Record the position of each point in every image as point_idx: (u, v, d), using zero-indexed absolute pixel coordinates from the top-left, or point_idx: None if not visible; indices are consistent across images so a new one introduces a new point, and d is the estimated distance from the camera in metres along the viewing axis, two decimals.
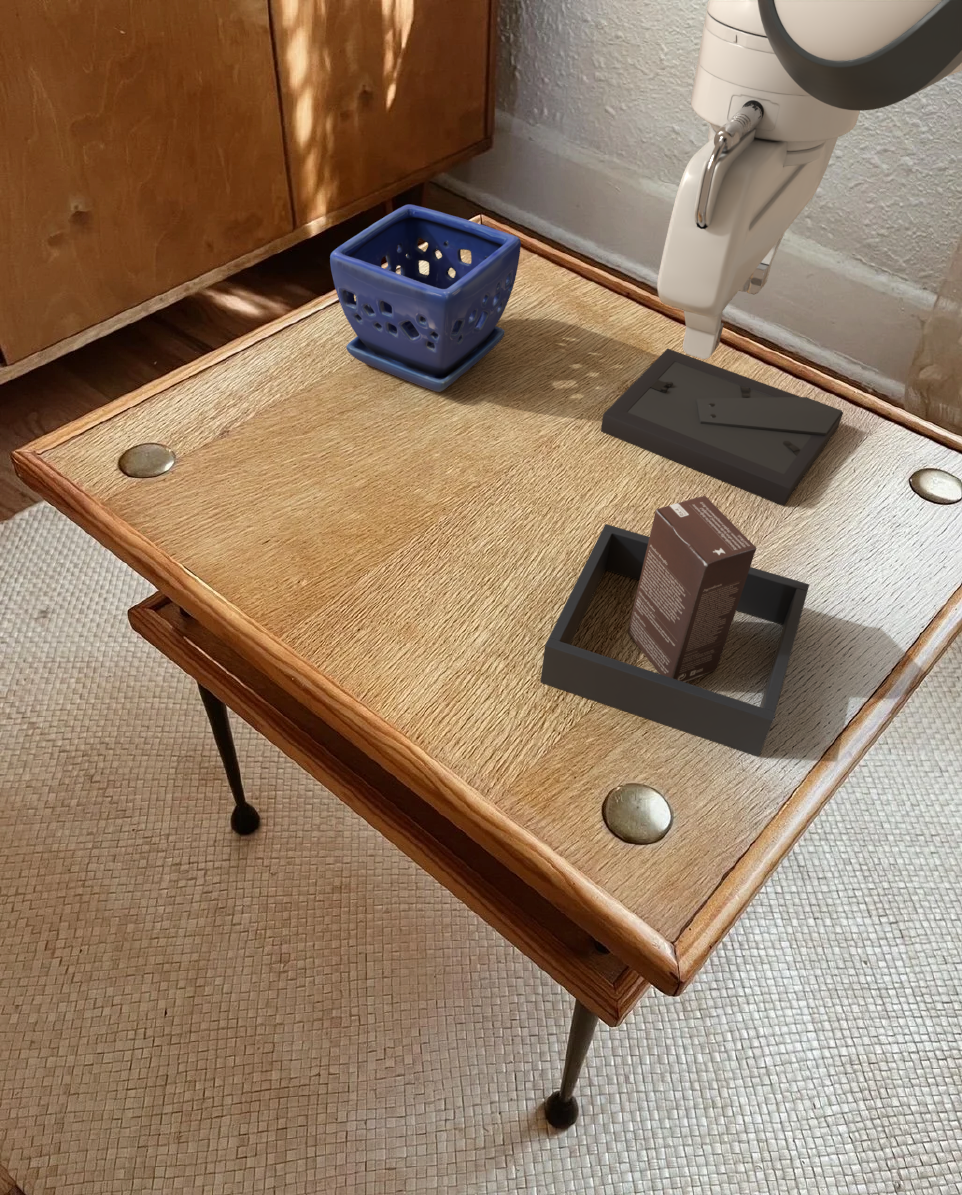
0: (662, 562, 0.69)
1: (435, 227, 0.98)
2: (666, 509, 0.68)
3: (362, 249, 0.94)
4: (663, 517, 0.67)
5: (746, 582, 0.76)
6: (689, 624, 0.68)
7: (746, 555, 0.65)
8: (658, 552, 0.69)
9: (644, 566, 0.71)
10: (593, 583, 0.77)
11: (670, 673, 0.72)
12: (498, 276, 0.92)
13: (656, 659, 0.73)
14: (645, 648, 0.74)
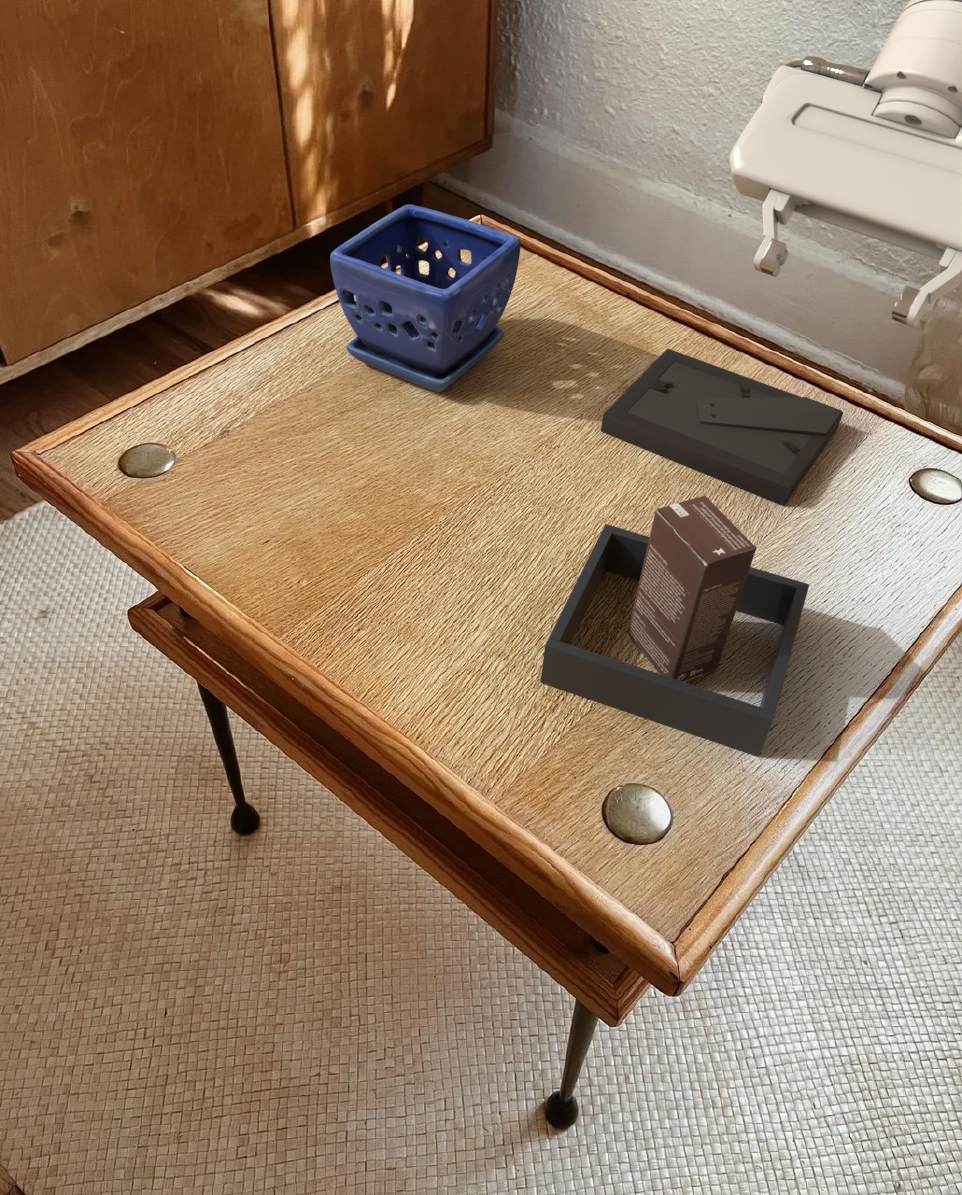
0: (662, 562, 0.69)
1: (435, 227, 0.98)
2: (666, 509, 0.68)
3: (362, 249, 0.94)
4: (663, 517, 0.67)
5: (746, 582, 0.76)
6: (689, 624, 0.68)
7: (746, 555, 0.65)
8: (659, 552, 0.69)
9: (644, 566, 0.71)
10: (593, 583, 0.77)
11: (670, 673, 0.72)
12: (498, 276, 0.92)
13: (656, 659, 0.73)
14: (645, 648, 0.74)
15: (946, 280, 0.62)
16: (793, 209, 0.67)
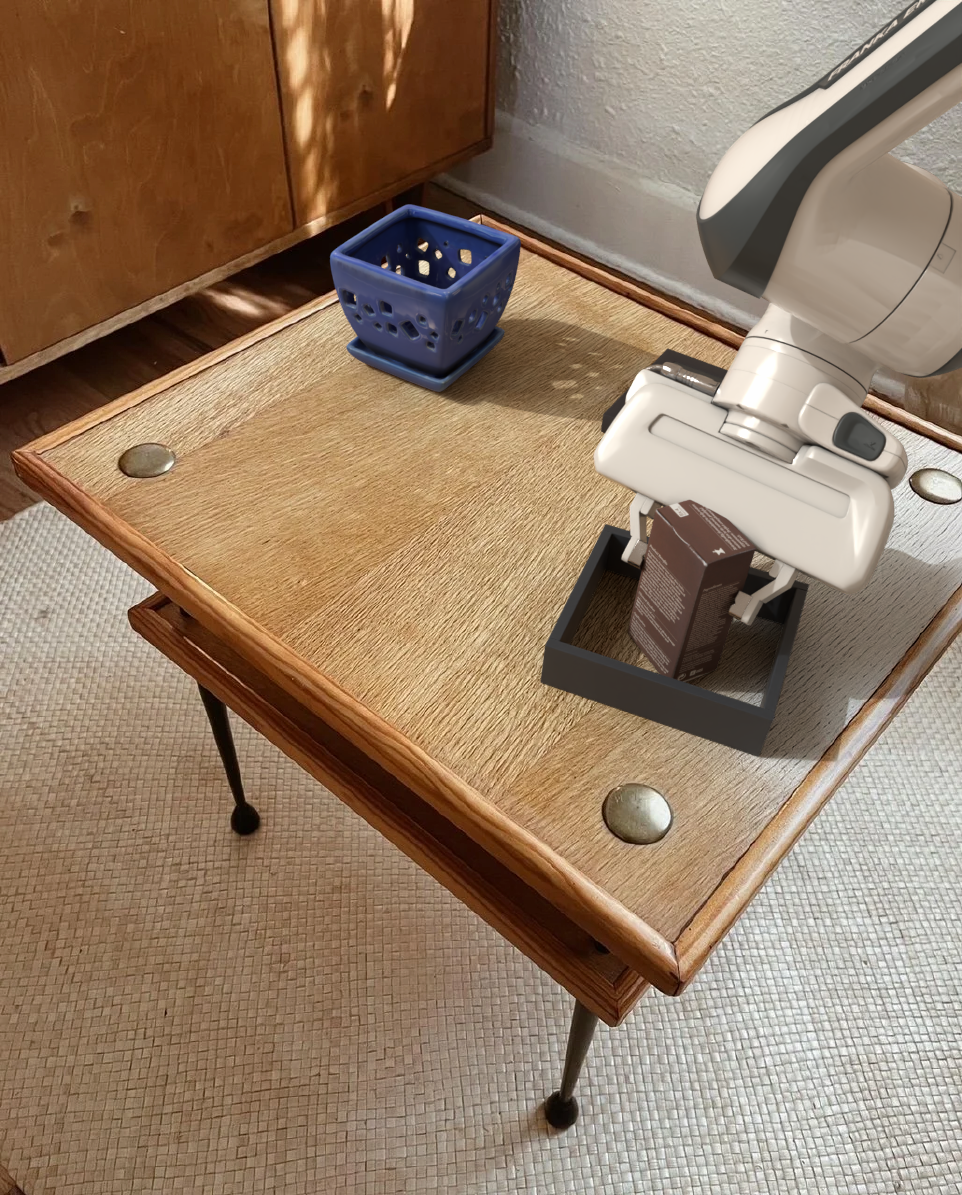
0: (662, 562, 0.69)
1: (435, 227, 0.98)
2: (666, 509, 0.68)
3: (362, 249, 0.94)
4: (663, 517, 0.67)
5: (746, 582, 0.76)
6: (689, 624, 0.68)
7: (746, 555, 0.65)
8: (658, 552, 0.69)
9: (644, 566, 0.71)
10: (593, 583, 0.77)
11: (670, 673, 0.72)
12: (498, 276, 0.92)
13: (656, 659, 0.73)
14: (645, 648, 0.74)
15: (774, 590, 0.66)
16: (660, 506, 0.72)
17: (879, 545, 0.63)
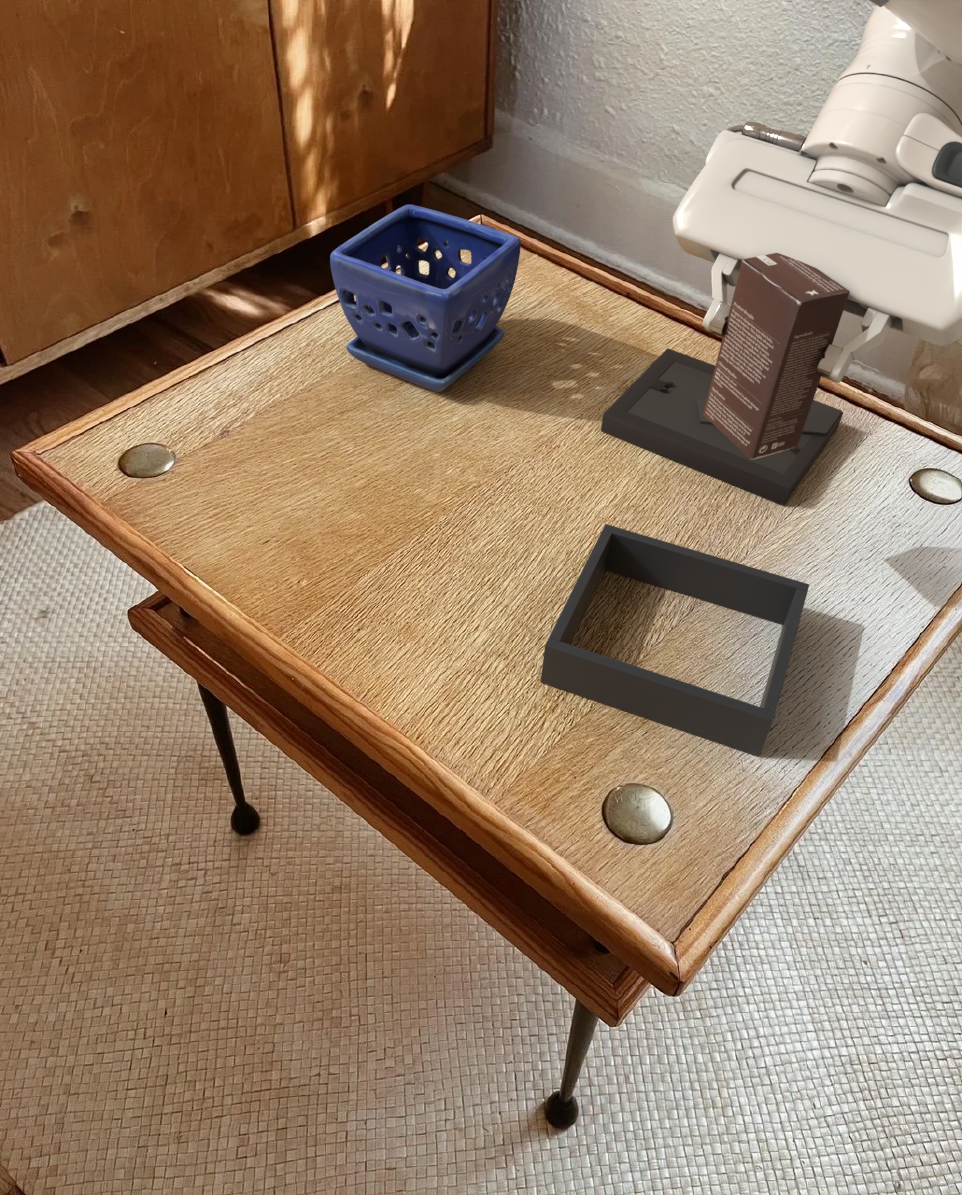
0: (747, 318, 0.66)
1: (435, 227, 0.98)
2: (753, 259, 0.65)
3: (362, 249, 0.94)
4: (750, 266, 0.65)
5: (746, 582, 0.76)
6: (776, 380, 0.65)
7: (839, 299, 0.63)
8: (744, 307, 0.66)
9: (726, 330, 0.68)
10: (593, 583, 0.77)
11: (752, 444, 0.69)
12: (498, 276, 0.92)
13: (736, 432, 0.70)
14: (724, 425, 0.71)
15: (867, 339, 0.64)
16: None
17: None
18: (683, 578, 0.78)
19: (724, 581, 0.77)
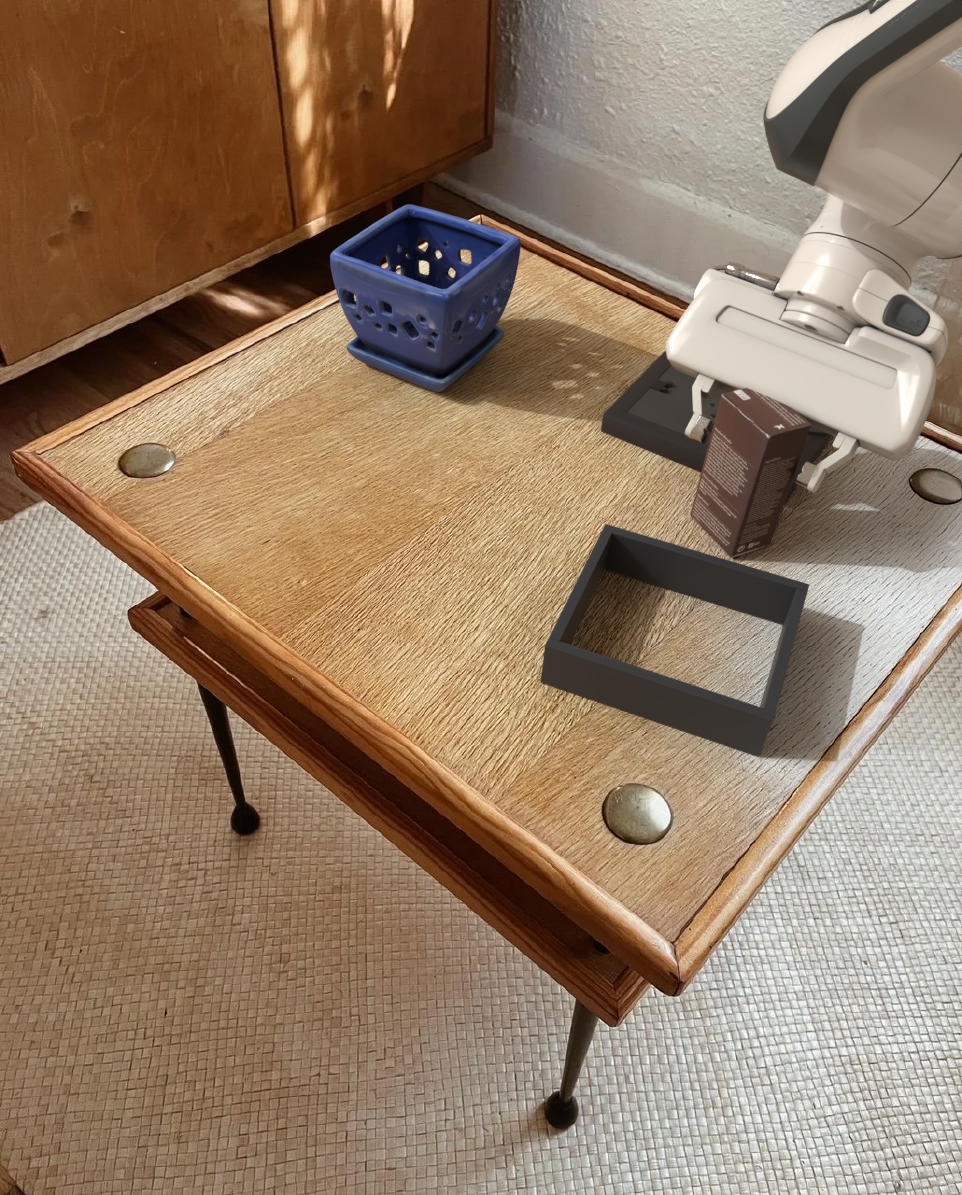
0: (726, 442, 0.78)
1: (435, 227, 0.98)
2: (730, 394, 0.77)
3: (362, 249, 0.94)
4: (728, 400, 0.77)
5: (746, 582, 0.76)
6: (751, 495, 0.77)
7: (803, 431, 0.75)
8: (723, 433, 0.78)
9: (708, 449, 0.80)
10: (593, 583, 0.77)
11: (731, 544, 0.81)
12: (498, 276, 0.92)
13: (718, 533, 0.82)
14: (708, 526, 0.83)
15: (838, 459, 0.75)
16: (718, 387, 0.81)
17: (923, 411, 0.73)
18: (683, 578, 0.78)
19: (724, 581, 0.77)
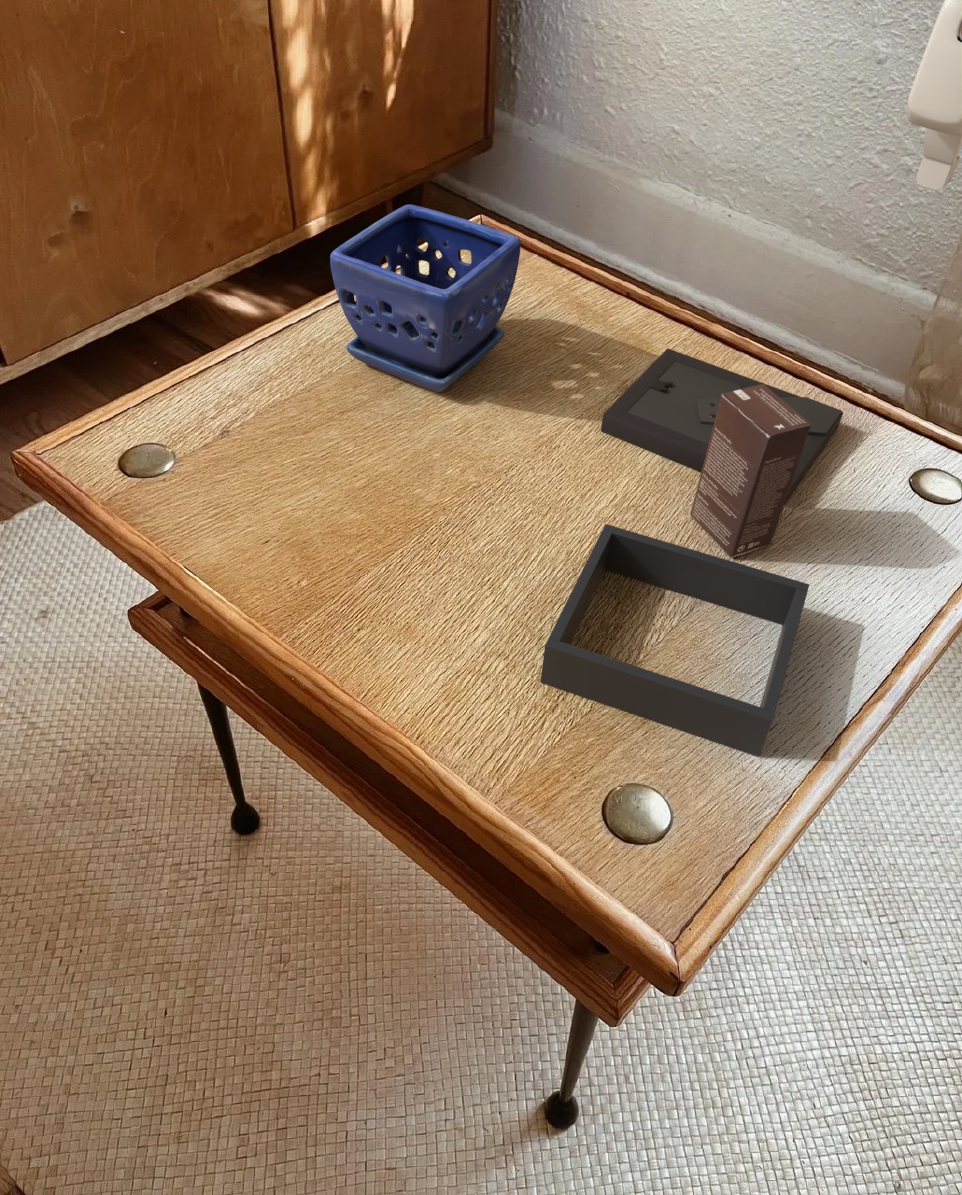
0: (726, 442, 0.78)
1: (435, 227, 0.98)
2: (730, 394, 0.77)
3: (362, 249, 0.94)
4: (728, 400, 0.77)
5: (746, 582, 0.76)
6: (751, 495, 0.77)
7: (803, 431, 0.75)
8: (723, 433, 0.78)
9: (708, 449, 0.80)
10: (593, 583, 0.77)
11: (731, 544, 0.81)
12: (498, 276, 0.92)
13: (718, 533, 0.82)
14: (708, 526, 0.83)
15: None
16: None
17: None
18: (683, 578, 0.78)
19: (724, 581, 0.77)
